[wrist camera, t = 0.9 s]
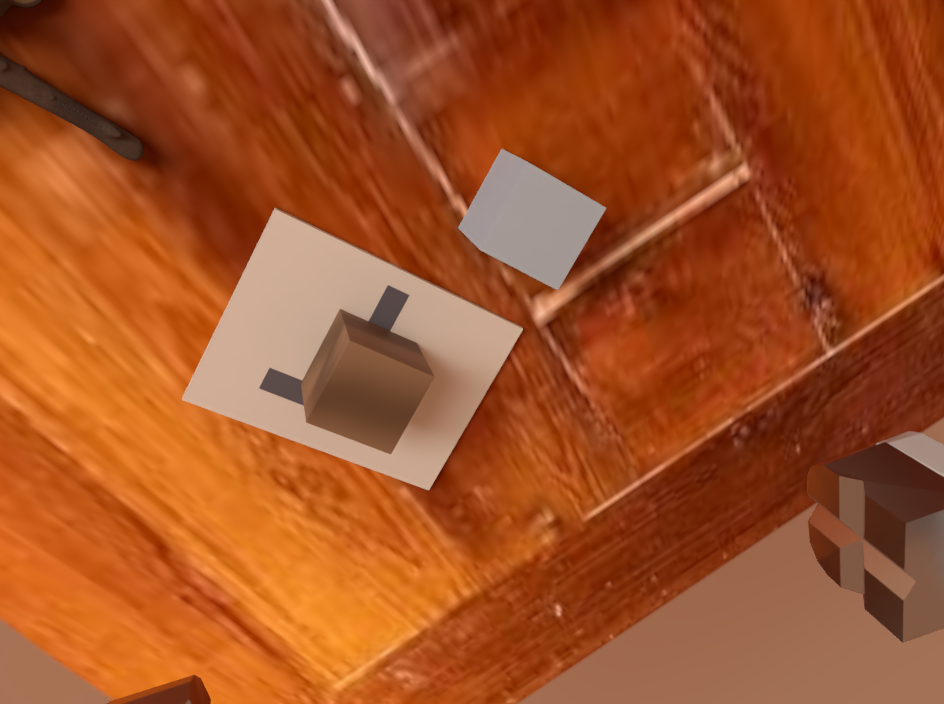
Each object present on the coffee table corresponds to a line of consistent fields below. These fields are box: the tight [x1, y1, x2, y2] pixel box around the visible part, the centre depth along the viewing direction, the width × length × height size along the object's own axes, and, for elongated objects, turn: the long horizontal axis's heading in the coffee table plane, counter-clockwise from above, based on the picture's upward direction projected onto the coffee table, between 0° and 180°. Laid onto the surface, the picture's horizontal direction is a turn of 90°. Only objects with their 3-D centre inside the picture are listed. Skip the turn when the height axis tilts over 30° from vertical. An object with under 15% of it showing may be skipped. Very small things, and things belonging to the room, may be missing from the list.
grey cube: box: [458, 149, 606, 290], centre depth 44 cm, size 5×5×5 cm
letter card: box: [182, 207, 523, 490], centre depth 47 cm, size 12×16×1 cm
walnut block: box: [301, 309, 434, 454], centre depth 44 cm, size 5×5×5 cm
